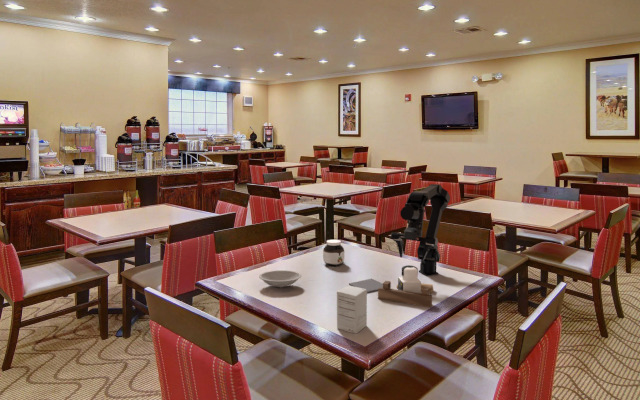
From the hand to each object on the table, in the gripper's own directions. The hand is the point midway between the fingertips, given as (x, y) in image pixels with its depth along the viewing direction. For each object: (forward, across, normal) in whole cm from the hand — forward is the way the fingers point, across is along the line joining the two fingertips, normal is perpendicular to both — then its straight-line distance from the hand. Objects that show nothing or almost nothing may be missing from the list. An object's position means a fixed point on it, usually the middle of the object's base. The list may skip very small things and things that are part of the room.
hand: (411, 259), depth 179 cm
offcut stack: (+12, +3, -3) cm, 13 cm away
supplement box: (+22, -5, -46) cm, 51 cm away
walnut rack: (+15, +4, -16) cm, 22 cm away
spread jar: (+9, -43, +16) cm, 47 cm away
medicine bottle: (+14, +4, -11) cm, 18 cm away
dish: (+18, -47, -24) cm, 56 cm away
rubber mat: (+13, -15, -7) cm, 21 cm away
